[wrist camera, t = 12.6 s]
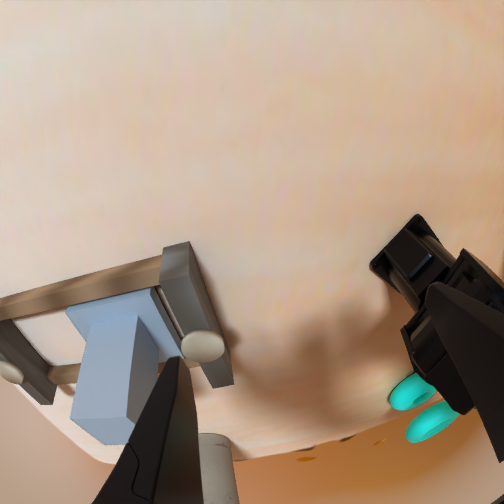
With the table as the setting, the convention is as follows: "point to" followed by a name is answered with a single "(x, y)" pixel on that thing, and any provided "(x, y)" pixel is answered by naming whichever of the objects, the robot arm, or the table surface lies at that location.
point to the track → (108, 284)
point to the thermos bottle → (217, 470)
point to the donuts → (428, 421)
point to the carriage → (119, 360)
